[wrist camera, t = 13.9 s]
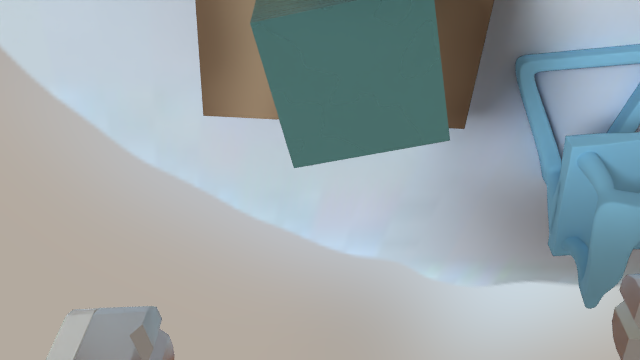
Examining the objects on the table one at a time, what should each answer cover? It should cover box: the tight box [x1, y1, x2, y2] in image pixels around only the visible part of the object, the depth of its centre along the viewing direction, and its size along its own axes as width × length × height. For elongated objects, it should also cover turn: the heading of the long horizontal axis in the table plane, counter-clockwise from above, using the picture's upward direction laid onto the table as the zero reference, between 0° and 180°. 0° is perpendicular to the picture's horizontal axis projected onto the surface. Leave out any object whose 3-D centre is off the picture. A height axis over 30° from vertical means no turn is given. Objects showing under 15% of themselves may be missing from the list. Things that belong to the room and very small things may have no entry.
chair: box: [516, 44, 640, 309], centre depth 28 cm, size 8×8×12 cm
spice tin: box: [250, 0, 450, 168], centre depth 21 cm, size 5×5×8 cm
